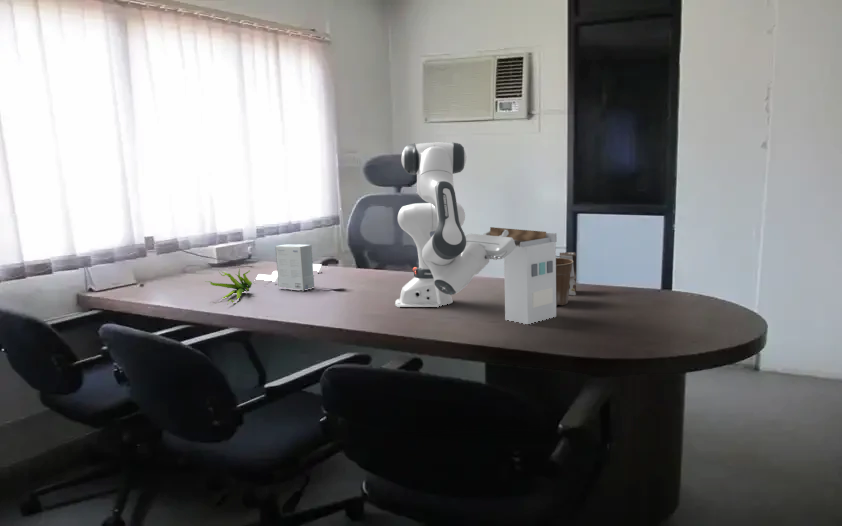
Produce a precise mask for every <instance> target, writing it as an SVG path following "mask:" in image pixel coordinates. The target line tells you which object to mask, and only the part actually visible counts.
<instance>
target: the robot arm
mask: <svg viewBox="0 0 842 526" xmlns="http://www.w3.org/2000/svg"><path fill="white" fill-rule="evenodd" d="M400 158H401V160H400V161H401V165H402V167H403V169H404V172H406V173H407V174H408V175H413V176H415V175H416V192H417V194H418V196H419V198H421V199H422V200H423V201H425V202H417V203H410V204H407V205H403V206H401V208H400V209H399V211H398V214H397V223H398V225H399V227H400V228H401V230H403V231H404V232H405V233H406V234H408V235H409V236H410V237H411V238H412V239H413V242H414V244H415V245H416V251H417V256H418V267H417V266H414V267H413V268H412V272H413V276H414V277H412V278H411V279H410V280H409V281H408V282H406V283H405V284H404V285H403V286H402V288H401V291H400V295H399V298H397V299H396V300H395V303H394V306H395V307H396V308H400V307H437V308H440V307H443V306H448V305H450V304H453V302H454V301H453V298H452V295H456V294H458V293H460V292H461V291H462V290H463V289H464V288H466V287H467V286H468V285H469V284H470V283H471V282H472V280H473V278H474V277H475V276H476V275H478V274H479V273H480V272H481V271H482V270H483V269H484V268H486V266H487V265H488V264H489V263H490V260H494V261H497V260H504V258H505V257H506V256H507V255H509V254H510V253H511V252H512V251H513V250H514V249H515V248H516V244H515V242H514V240H513V238H511V237H506V236H507V235H508V234H509V233H508V230H503V231H501V234H502V235H500V236H490V230H489V231H486V232H484V233H483V234H479V233H477V234H476V233H467V234H465V232H464V230H463V228H462V226H463V225H464V222H465V220H466V212H465V210H464V207H463V206H462V205H461V204H460V203H458V202H457V197H456V191H455V189H454V174H458V173H461V172H463V170H464V168H465V166H466V163H467V154H466V150H465V148H464V146H463V145H462V144H461V143H458V142H445V141H444V142H442V141H439V142H438V141H434V142H421V143H410V144H406V146H405V147H404V148H403V150H402V153H401V157H400ZM431 232H434V233H432V234H433V235H432V236H431ZM447 304H448V305H447ZM442 305H443V306H442ZM439 306H440V307H439Z"/></svg>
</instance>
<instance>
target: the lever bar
mask: <svg viewBox="0 0 842 526" xmlns="http://www.w3.org/2000/svg"><path fill="white" fill-rule="evenodd" d="M489 229H490V230H489V231H490V236H500V235H502V234H501V231H503V230H508V233H509V234H508V235H507V236H506V237H511V238H513V240H523V241H530V240H536V239H542V238H546V233H547V231H543V230H542V231H540V230H529V229H528V230H527V229H517V228H504V227H492V226H491V227H490V228H489Z"/></svg>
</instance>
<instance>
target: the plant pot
mask: <svg viewBox="0 0 842 526" xmlns="http://www.w3.org/2000/svg"><path fill="white" fill-rule="evenodd" d="M572 264H573V260H570V259H565V258H560V257H556V307H557V306H566V305H568V303H569V296H570V295H569V283H570V273H571V271H572Z"/></svg>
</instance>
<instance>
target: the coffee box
mask: <svg viewBox="0 0 842 526" xmlns="http://www.w3.org/2000/svg"><path fill="white" fill-rule="evenodd" d="M559 258H565V259H570V260H573V264H572V271H571V273H570V283H569V295H568V296H576V295H577V254H576V252H575V251H573V252H572V251H570V252H569V251H568V252H567V251H566V252H565V251H564V252H559Z"/></svg>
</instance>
